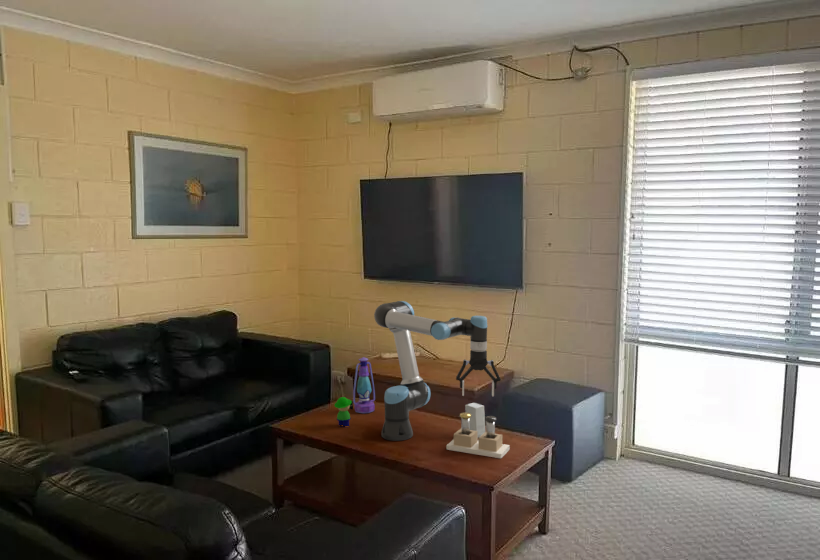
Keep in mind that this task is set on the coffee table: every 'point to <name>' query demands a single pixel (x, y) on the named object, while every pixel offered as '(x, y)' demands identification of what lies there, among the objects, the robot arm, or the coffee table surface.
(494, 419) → the plug black
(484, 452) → the socket board
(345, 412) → the toy
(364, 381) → the lantern
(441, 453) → the coffee table surface
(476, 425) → the skincare box
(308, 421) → the coffee table surface
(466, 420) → the plug brass
